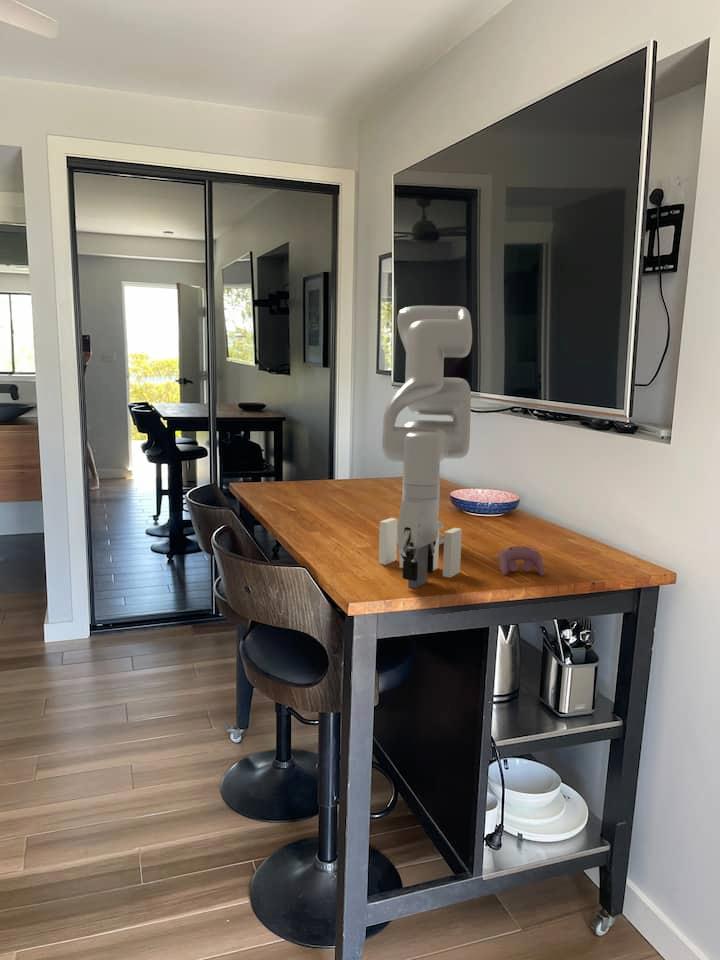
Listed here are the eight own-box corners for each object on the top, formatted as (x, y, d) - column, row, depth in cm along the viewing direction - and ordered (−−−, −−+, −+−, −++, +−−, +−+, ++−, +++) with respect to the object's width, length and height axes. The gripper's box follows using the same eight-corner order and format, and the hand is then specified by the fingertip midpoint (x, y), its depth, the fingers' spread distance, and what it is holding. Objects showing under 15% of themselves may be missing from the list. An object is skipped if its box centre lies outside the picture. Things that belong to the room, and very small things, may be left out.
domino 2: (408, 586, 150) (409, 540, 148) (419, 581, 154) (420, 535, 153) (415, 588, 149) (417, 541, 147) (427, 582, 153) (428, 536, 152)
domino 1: (378, 563, 167) (379, 521, 165) (389, 558, 171) (390, 517, 169) (385, 565, 166) (386, 522, 164) (396, 560, 170) (397, 518, 168)
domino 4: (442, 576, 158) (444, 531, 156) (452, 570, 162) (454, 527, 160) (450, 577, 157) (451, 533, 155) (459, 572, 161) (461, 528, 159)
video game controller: (540, 578, 163) (538, 548, 165) (546, 574, 158) (543, 543, 160) (497, 578, 162) (495, 547, 164) (502, 574, 158) (500, 543, 160)
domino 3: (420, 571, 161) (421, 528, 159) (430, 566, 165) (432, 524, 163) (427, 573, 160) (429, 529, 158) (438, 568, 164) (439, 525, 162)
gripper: (424, 484, 157) (421, 563, 160) (383, 495, 143) (381, 582, 146) (455, 487, 153) (452, 569, 156) (416, 500, 139) (413, 589, 142)
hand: (418, 574), depth 151 cm, fingers open, 6 cm apart
